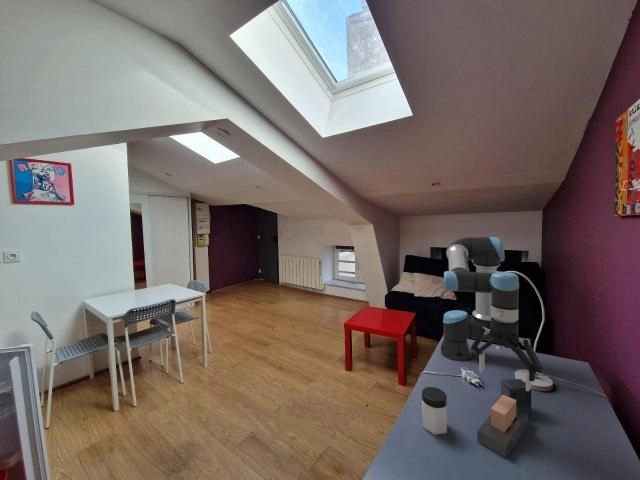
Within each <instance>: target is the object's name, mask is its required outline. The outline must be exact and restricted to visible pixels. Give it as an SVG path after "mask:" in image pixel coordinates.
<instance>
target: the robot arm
mask: <svg viewBox="0 0 640 480" xmlns="http://www.w3.org/2000/svg"><path fill="white" fill-rule="evenodd" d="M504 249H505V248H504V245H503V241H502V239H501V238H500V237H497V236H472V237H469V236H468V237H466V236H465V237H461V238H458V239H456V240H454V241H452V242H451V243H449V245H447V248H446V249H445V250H446V252H445V253H446V254H445V255H446V258H447V259H448V270H446V271H444V273H443V287H444V290H447V291H451V292H452V291H453V292H464V293H465V292H469V293H475V310H473V311H472V314H471V315H470V314H468V312H466V311H464V310H458V309H456V310H449V311H446V312H445V313H444V314H443V320H442V323H443V339H442V342H441V345H440V348H439V349H440V354H441V355H442V356H443V357H444V358H447V359H450V360H452V361H458V362H460V361H461V362H463V361H464V362H465V361H469V360H470V359H472V351H474V352H475V353H476V355H475V356H476V359H475V360H476V362H477V363H478V372H479V373H480V374H482V373H483V372H484V371H485V367H486V366H485V361H486V359H485V357H486V356H485V355H486V354H485V352H484V351H485V350H486V349H488V348H489V347H490V346H492V345H493V344H497V346H499V347H503V348H506V349H511V350H512V352H514V353H515V355H516V356H517V358H519V360H520V361H521V363H523V365H524V366H525V367H526V370H525V383H526V391H528V392H529V390H530V389H531V390H532V383H533V382H534V381H535V380H536V373H542V372H543V370H544V367H543V365H542V363H541V361H540V360H539V358H538V356H537V354H536V352H535V350H534V348H533V347H532V342H531V339H530V338H529V337H526V338H523V337H520V336H519V322H518V321H519V293H520V292H519V290H520V283H519V282H520V281H519V276H518V275H517V274H516V273H513V272H509V271H508V272H507V271H499V270H497V269H498V268H499V267H500V266H501V262H504V261H505V260H506V259H505V258H506V257H505V255H506V254H505V250H504ZM468 261H472V264H473V266H475V267H476V269H475V270H476V271H470V267H469V263H468ZM468 339H473V340H474V339H475V340H474V342H473V344H472V345H471V346H470V344H469V341H468ZM482 341H487V342H486V343H484V344H483V345H482V346H480V343H482ZM519 343H520V344H521V345H522V346H523V348H524V350H525V352H526V353H525V352H524V351H523V350H522V348H521V346H520V344H519ZM479 346H480V347H479ZM527 355H528V356H527Z"/></svg>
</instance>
